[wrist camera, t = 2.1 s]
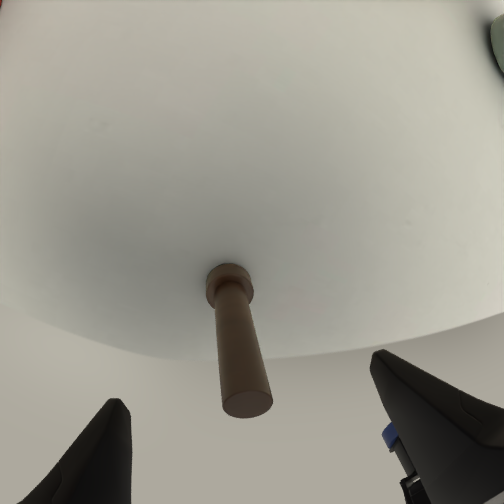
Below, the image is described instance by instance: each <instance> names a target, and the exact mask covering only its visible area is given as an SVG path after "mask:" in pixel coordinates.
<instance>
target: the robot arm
mask: <svg viewBox="0 0 504 504" xmlns="http://www.w3.org/2000/svg"><path fill="white" fill-rule="evenodd" d="M370 372H371V375H372V378H373V380H374V383H375V385H376V388H377V391H378V393H379V395H380V398H381V401H382V403H383V406H384V408H385V410H386V412H387V414H388V416H389V418H390V419H391V421H392V423H393V425H394V427H395V429H396V431H397V433H398V437H397V438H396V440H395V442H394V443H393V445H392V446H391V448H390V450H389V451H390V453H391V452H393V451H395V453H396V454H397V456H398V458H399V460H400V462H401V464H402V466H403V468H404V470H405V472H406V474H407V476H408V477H406V478H403V479H402V480H401V482H400V485H401V487H402V489H403V492H404V496H405V501H406V504H504V409H503V408H500V407H498V406H495V405H492V404H489V403H486V402H484V401H482V400H480V399H477V398H475V397H473V396H471V395H469V394H467V393H465V392H463V391H461V390H459V389H457V388H455V387H453V386H451V385H450V384H448V383H446V382H444V381H442V380H440V379H438V378H437V377H435V376H433V375H431V374H429V373H427V372H425V371H424V370H422V369H420V368H418V367H416V366H414V365H412V364H411V363H409V362H407V361H405V360H403V359H401V358H399V357H398V356H396V355H394V354H392V353H390V352H389V351H387V350H384V349H382V350H378V351H375V352H374V353H373V355H372V359H371V364H370ZM131 473H132V436H131V415H130V412H129V410H128V409H127V407H126V406H125V405H124V403H123V402H122V401H121V399H119V398H111V399H109V400H108V401H107V402H106V403H105V404H104V405H103V407H102V408H101V409H100V410H99V411H98V413H97V414H96V415H95V416H94V418H93V419H92V420H91V421H90V422H89V424H88V425H87V426H86V428H85V429H84V430H83V431H82V432H81V434H80V435H79V436H78V437H77V439H76V440H75V441H74V442H73V444H72V445H71V446H70V447H69V449H68V450H67V451H66V452H65V454H64V455H63V456H62V458H61V459H60V460H59V462H58V463H57V464H56V465H55V466H54V467H53V469H52V470H51V471H50V472H49V474H48V475H47V476H46V477H45V478H44V479H43V480H42V481H41V482H40V483H39V484H38V485H37V487H35V488H34V489H33V490H32V491H31V492H30V493H29V494H28V496H26V497H25V498H24V499H23V500H22V501H21V502H19V503H17V504H131ZM419 477H420V479H419V480H418V481H416V482H413V481H414V480H416V479H418V478H419Z"/></svg>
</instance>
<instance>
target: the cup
mask: <svg viewBox="0 0 504 504" xmlns="http://www.w3.org/2000/svg"><path fill="white" fill-rule="evenodd" d="M490 36H491V44H492V48H493V51H494V55H495V57H496V60H497V62H498V65H499V67H500V68H501V70H502V72H503V73H504V14H502V15H500V16H499V17H497V18H496V19H495V20H494V21H493V23H492V26H491V31H490Z"/></svg>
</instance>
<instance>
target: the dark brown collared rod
mask: <svg viewBox="0 0 504 504" xmlns="http://www.w3.org/2000/svg"><path fill="white" fill-rule="evenodd" d="M253 295H254V290H253V286H252V282H251V279H250V276H249V274H248V272H247V271H246V270H245V269H244V268H242V267H241V266H238V265H235V264H223V265H220V266H218V267H216V268H214V269H213V270H212V271H211V272H210V273H209V275H208V277H207V280H206V297H207V301H208V303H209V304H210V305H211V307H212V308H214V309H215V319H216V334H217V348H218V361H219V373H220V385H221V396H222V407H223V410H224V411H225V412H226V413H227V414H228V415H230V416H232V417H236V418H252V417H256V416H259V415H262V414H264V413H265V412H267V411H268V410H269V409H270V408H271V406H272V404H273V398H272V394H271V390H270V387H269V382H268V379H267V375H266V371H265V367H264V363H263V359H262V355H261V351H260V347H259V343H258V339H257V335H256V331H255V327H254V323H253V319H252V315H251V311H250V307H249V304H250V303H251V301H252V298H253Z"/></svg>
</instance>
